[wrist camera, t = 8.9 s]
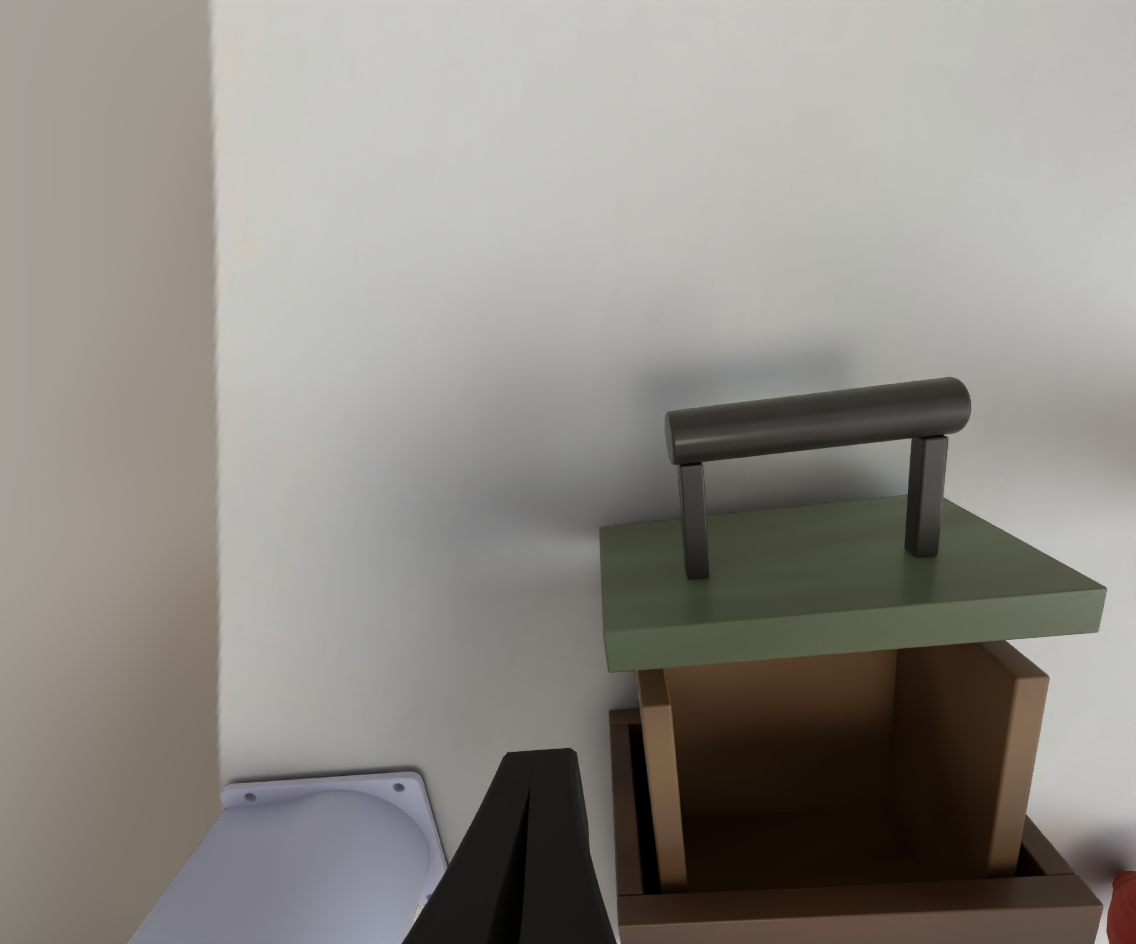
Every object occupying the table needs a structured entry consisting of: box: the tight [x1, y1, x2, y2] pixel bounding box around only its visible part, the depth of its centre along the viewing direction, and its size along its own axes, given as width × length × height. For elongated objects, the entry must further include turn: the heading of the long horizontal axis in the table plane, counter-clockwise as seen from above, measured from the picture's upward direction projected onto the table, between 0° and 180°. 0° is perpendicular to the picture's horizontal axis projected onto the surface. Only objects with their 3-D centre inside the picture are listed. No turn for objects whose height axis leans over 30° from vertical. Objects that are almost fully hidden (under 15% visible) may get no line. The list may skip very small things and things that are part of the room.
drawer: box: [599, 377, 1107, 894], centre depth 17 cm, size 18×11×6 cm, turn 8°
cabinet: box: [609, 709, 1103, 944], centre depth 20 cm, size 15×13×8 cm
